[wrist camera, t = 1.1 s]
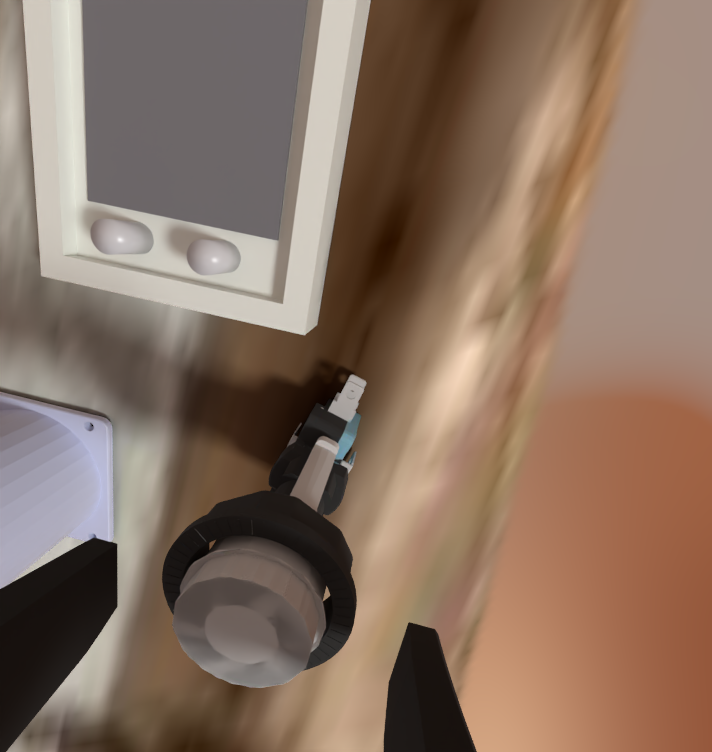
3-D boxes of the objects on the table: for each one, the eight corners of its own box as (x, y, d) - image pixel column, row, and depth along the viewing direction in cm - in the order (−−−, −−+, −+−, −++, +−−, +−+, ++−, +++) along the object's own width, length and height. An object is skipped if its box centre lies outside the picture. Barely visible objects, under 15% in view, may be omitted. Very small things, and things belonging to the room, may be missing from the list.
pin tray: (84, 273, 18) (15, 278, 15) (67, -227, 13) (-44, -383, 10) (317, 325, 17) (296, 341, 14) (400, -181, 12) (397, -332, 9)
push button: (310, 347, 18) (194, 459, 8) (414, 402, 18) (420, 575, 8) (255, 459, 20) (115, 652, 10) (349, 508, 20) (294, 740, 10)
